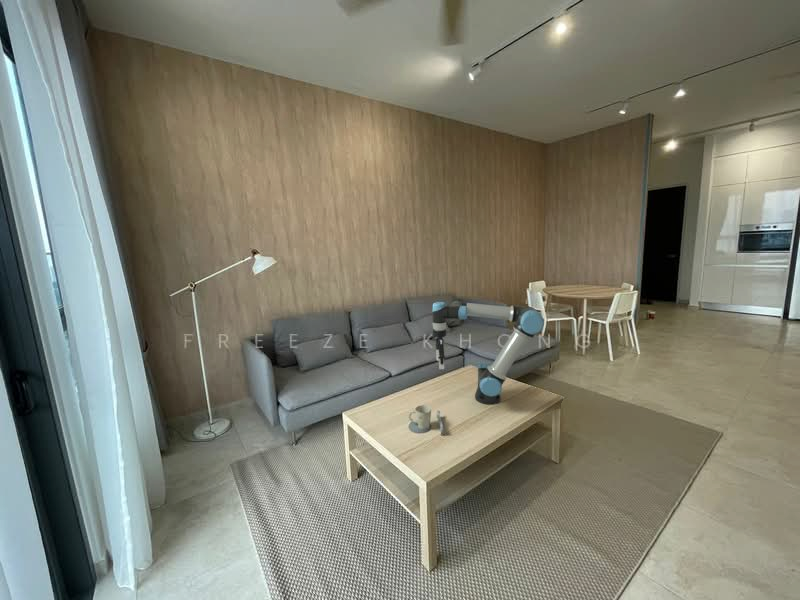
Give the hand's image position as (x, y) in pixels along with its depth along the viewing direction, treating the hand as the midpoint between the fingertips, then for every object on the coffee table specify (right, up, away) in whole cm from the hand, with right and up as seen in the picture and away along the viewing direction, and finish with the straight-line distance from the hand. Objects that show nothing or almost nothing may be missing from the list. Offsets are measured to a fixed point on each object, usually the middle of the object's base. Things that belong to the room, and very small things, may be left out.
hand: (440, 364), depth 184 cm
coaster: (-13, -30, -15) cm, 36 cm away
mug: (-13, -30, -15) cm, 36 cm away
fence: (-2, -30, -15) cm, 33 cm away
